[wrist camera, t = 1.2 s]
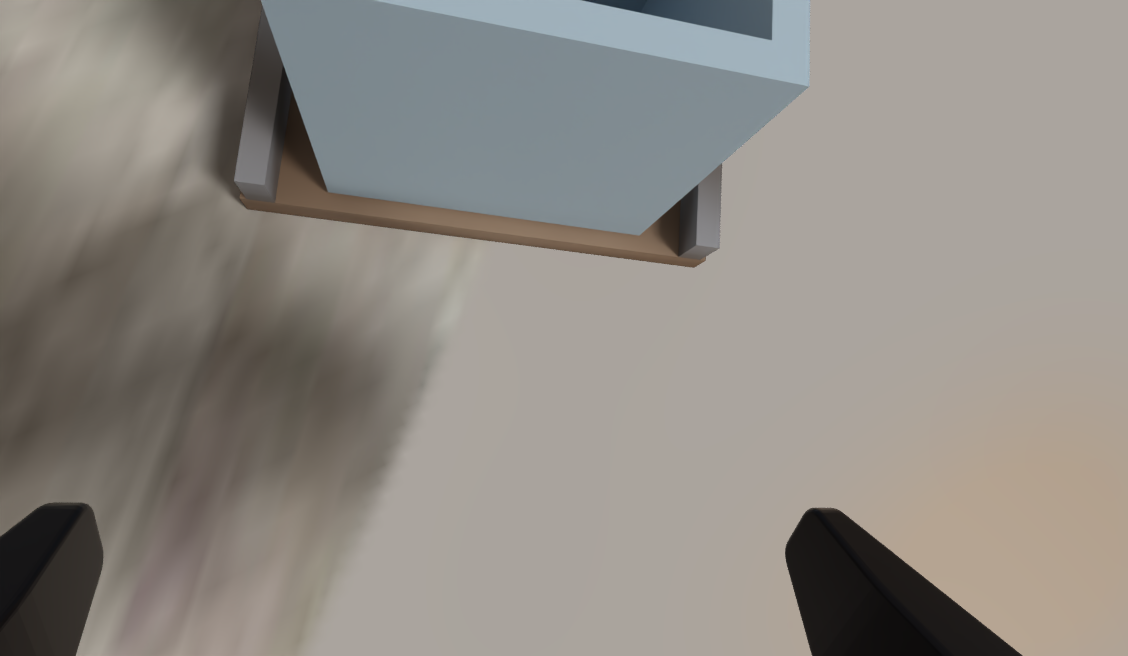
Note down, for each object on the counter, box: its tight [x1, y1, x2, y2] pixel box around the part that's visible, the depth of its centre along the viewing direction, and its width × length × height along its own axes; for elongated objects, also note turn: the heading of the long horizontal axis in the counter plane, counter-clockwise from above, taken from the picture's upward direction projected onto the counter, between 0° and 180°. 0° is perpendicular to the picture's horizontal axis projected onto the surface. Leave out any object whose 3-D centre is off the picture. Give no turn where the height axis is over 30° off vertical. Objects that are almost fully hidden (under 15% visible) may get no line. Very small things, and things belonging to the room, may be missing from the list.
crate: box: [261, 0, 810, 235], centre depth 17 cm, size 8×10×10 cm
